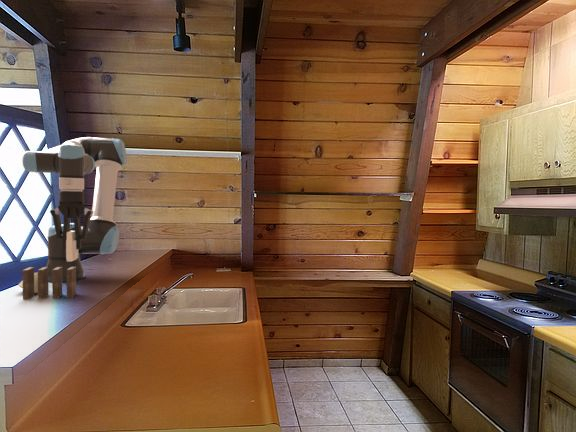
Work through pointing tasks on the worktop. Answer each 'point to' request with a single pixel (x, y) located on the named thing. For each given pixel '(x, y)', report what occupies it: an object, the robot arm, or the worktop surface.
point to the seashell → (34, 283)
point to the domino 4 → (70, 245)
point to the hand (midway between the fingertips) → (72, 258)
